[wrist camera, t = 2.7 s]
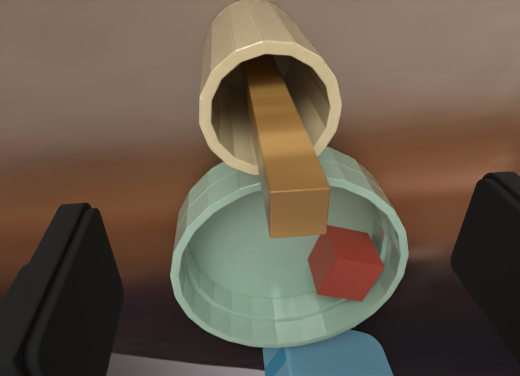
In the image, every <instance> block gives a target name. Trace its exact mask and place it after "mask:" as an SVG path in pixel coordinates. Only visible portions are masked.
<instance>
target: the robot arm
mask: <svg viewBox="0 0 520 376" xmlns="http://www.w3.org/2000/svg"><path fill="white" fill-rule="evenodd" d="M451 266H452V268H453V270H454V272H455V273H456V275H457V276H458V278H459V279H460V280H461V282H462V283H463V285H464V286H465V288H466V289H467V290H468V292H469V293H470V295H471V296H472V297H473V299H474V300H475V302H476V303H477V305H478V306H479V307H480V309H481V310H482V312H483V313H484V314H485V316H486V317H487V319H488V320H489V322H490V323H491V324H492V326H493V327H494V329H495V330H496V331H497V333H498V334H499V336H500V337H501V339H502V340H503V341H504V343H505V344H506V346H507V347H508V349H509V350H510V351H511V353H512V354H513V356H514V357H515V358H516V360H517V361H518V363H519V364H520V176H519V175H517V174H516V173H514V172H495V173H488V174H486V175H485V176H484V177H483V178H482V179H481V180H479V181H478V182H477V184H476V187H475V190H474V192H473V195H472V198H471V201H470V204H469V207H468V210H467V212H466V215H465V218H464V221H463V224H462V227H461V230H460V233H459V235H458V238H457V241H456V244H455V247H454V250H453V253H452V256H451ZM123 300H124V290H123V285H122V282H121V278H120V275H119V272H118V269H117V266H116V262H115V259H114V256H113V253H112V249H111V246H110V243H109V240H108V236H107V233H106V230H105V227H104V224H103V220H102V217H101V214H100V211H99V210H98V209H97V208H91V206H90V205H89V203H76V204H63V205H61V206H60V207H59V208H58V210H57V212H56V214H55V216H54V218H53V219H52V221H51V223H50V225H49V227H48V229H47V231H46V232H45V234H44V236H43V238H42V240H41V242H40V244H39V245H38V247H37V249H36V251H35V253H34V255H33V257H32V259H31V260H30V262H29V264H27V265H25V266H23V267H22V269H21V270H20V271H19V273H18V275H17V276H16V278H15V280H14V282H13V284H12V285H11V287H10V289H9V291H8V293H7V295H6V296H5V298H4V300H3V302H2V304H1V305H0V376H106V374H107V369H108V365H109V360H110V356H111V352H112V348H113V344H114V339H115V335H116V331H117V326H118V322H119V318H120V313H121V309H122V305H123Z"/></svg>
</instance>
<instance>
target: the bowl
mask: <svg viewBox="0 0 520 376" xmlns="http://www.w3.org/2000/svg"><path fill="white" fill-rule="evenodd" d="M317 158H318V160H319V163H320V165H321V167H322V169H323V172H324V174H325V176H326V179H327V181H328V183H329V186H330V188H331V191H330V201H329V211H328V220H327V225H331V226H336V227H341V228H345V229H350V230H355V231H360V232H365V233H368V234H369V236H370V238H371V240H372V242H373V244H374V246H375V248H376V250H377V252H378V254H379V256H380V258H381V260H382V262H383V265H384V269H383V271H382V272H381V274H380V275H379V277H378V278H377V280H376V281H375V282H374V284H373V285H372V287H371V288H370V290H369V291H368V293H367V294H366V296H365V297H364V299H363V300H362V301H356V300H349V299H343V298H336V297H330V296H323V295H317V292H316V288H315V285H314V281H313V277H312V274H311V270H310V266H309V263H308V257H309V255H310V253H311V251H312V249H313V247H314V246H315V244H316V242H317V240H318V238H319V236H320V235H310V236H297V237H284V238H270V235H269V229H268V223H267V218H266V212H265V206H264V200H263V194H262V188H261V183H260V177H259V175H252V174H251V175H250V174H248V173H245V172H243V171H240V170H238V169H235V168H233V167H230V166H228V165H227V164H226V163H225V162H224V161H223V162H222V163H220V164H218V165H217V166H215V167H213V168H212V169H210V170H209V171H208V172H207V173H206V174H205V175H204V176H203V177H202V178H201V179H200V181H199V182H198V183H197V184H196V185H195V186H194V187H193V188H192V189H191V190H190V191H189V193H188V195H187V197H186V199H185V201H184V203H183V205H182V207H181V209H180V211H179V214H178V220H177V227H176V234H175V242H174V249H173V257H172V264H171V272H170V278H171V282H172V286H173V291H174V295H175V298H176V300H177V301H178V303H179V304H180V306H181V307H182V309H183V310H184V312H185V313H186V315H187V316H188V317H189V318H190V319H192V320H193V321H194V322H195V323H196V324H198V325H199V326H200V327H201V328H203V329H204V330H205V331H207V332H209V333H211V334H213V335H216V336H218V337H220V338H222V339H224V340H227V341H230V342H234V343H238V344H243V345H247V346H252V347H266V348H282V347H292V346H301V345H306V344H310V343H314V342H318V341H321V340H325V339H328V338H331V337H333V336H336V335H338V334H340V333H342V332H345V331H347V330H349V329H351V328H353V327H355V326H356V325H358V324H359V323H361V322H362V321H364V320H365V319H367V318H368V317H370V316H371V315H373V314H374V313H375V312H376V311H377V310H378V309H379V308H380V307H381V306H382V305H383V304H384V303H385V302H386V301H387V300H388V299H389V298H390V297H391V296H392V294H393V292H394V291H395V289H396V287H397V286H398V284H399V282H400V281H401V279H402V277H403V276H404V271H405V267H406V263H407V259H408V255H409V252H408V244H407V235H406V230H405V228H404V227H403V225H402V223H401V221H400V219H399V217H398V215H397V214H396V212H395V210H394V208H393V207H392V205H391V204H390V202H389V200H388V199H387V197H386V196H385V194H384V193H383V191H382V189H381V188H380V186H379V184H378V183H377V181H376V180H375V178H374V176H373V175H372V174H371V173H370V172H368V171H367V170H366V169H365V168H364V167H363V166H362V165H361V164H360V163H358V162H357V161H356V160H355V159H354V158H352V157H350V156H347V155H345V154H343V153H341V152H339V151H337V150H334V149H332V148H330V147H325V149H324V150H323V152H321V154H320V155H318V156H317Z"/></svg>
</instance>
